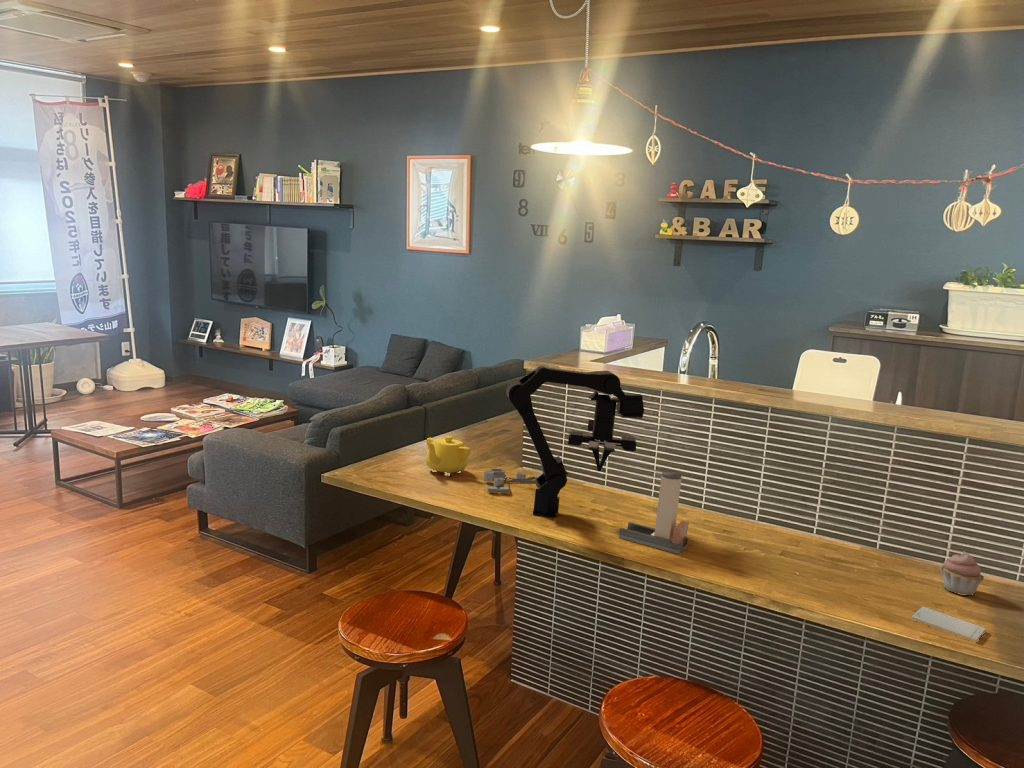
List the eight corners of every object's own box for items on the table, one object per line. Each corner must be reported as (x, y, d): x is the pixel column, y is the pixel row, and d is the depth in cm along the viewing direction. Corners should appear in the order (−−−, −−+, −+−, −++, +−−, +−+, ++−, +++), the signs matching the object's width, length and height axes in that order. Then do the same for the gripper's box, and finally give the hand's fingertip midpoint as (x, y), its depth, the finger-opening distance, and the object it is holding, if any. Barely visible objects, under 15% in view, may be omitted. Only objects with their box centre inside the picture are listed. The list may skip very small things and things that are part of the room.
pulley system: (461, 488, 231) (500, 498, 222) (462, 473, 230) (501, 482, 221) (514, 476, 253) (551, 484, 244) (515, 462, 252) (552, 470, 243)
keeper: (649, 539, 193) (657, 472, 190) (656, 534, 197) (663, 468, 195) (671, 545, 190) (680, 477, 187) (678, 540, 194) (686, 473, 192)
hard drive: (911, 615, 161) (977, 638, 153) (922, 605, 167) (986, 627, 159) (910, 623, 161) (975, 646, 153) (921, 612, 167) (985, 634, 159)
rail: (618, 537, 196) (621, 514, 195) (628, 530, 203) (631, 507, 202) (679, 554, 188) (682, 529, 187) (688, 546, 194) (691, 522, 193)
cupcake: (933, 579, 186) (940, 541, 184) (976, 588, 182) (984, 549, 181) (938, 593, 177) (946, 553, 176) (984, 603, 174) (992, 562, 172)
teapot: (420, 465, 249) (422, 430, 247) (463, 466, 252) (465, 432, 250) (424, 477, 235) (426, 441, 234) (469, 478, 238) (472, 442, 237)
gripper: (636, 414, 216) (630, 466, 218) (571, 408, 217) (566, 460, 220) (639, 422, 205) (632, 477, 207) (570, 415, 206) (565, 470, 209)
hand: (599, 470), depth 211 cm, fingers closed
